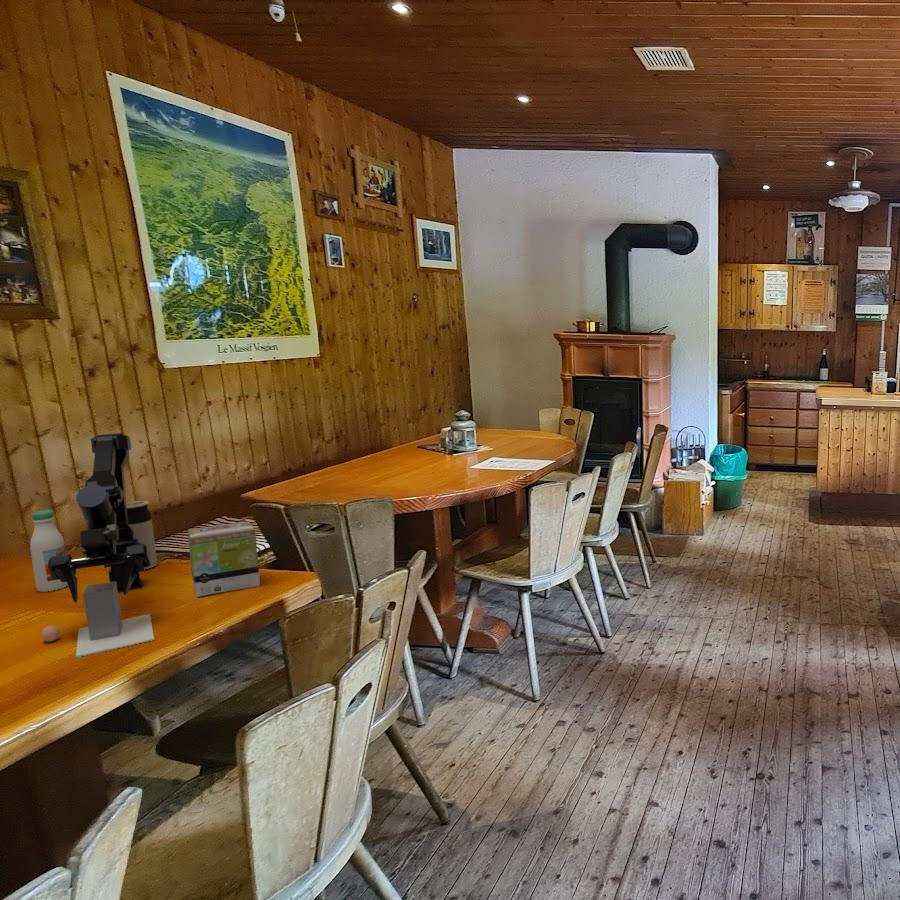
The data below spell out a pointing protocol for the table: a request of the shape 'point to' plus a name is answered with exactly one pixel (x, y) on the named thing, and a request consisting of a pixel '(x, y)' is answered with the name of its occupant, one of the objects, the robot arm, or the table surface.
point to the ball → (50, 633)
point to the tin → (103, 610)
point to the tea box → (223, 558)
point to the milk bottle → (45, 550)
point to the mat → (116, 637)
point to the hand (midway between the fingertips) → (100, 597)
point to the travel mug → (142, 526)
